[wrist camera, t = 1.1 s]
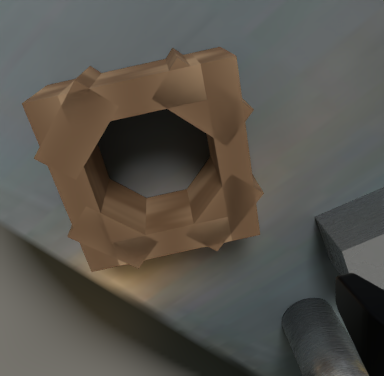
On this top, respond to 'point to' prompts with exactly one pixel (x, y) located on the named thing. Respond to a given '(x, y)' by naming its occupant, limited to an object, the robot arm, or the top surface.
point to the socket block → (129, 200)
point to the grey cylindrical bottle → (320, 340)
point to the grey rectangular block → (356, 237)
